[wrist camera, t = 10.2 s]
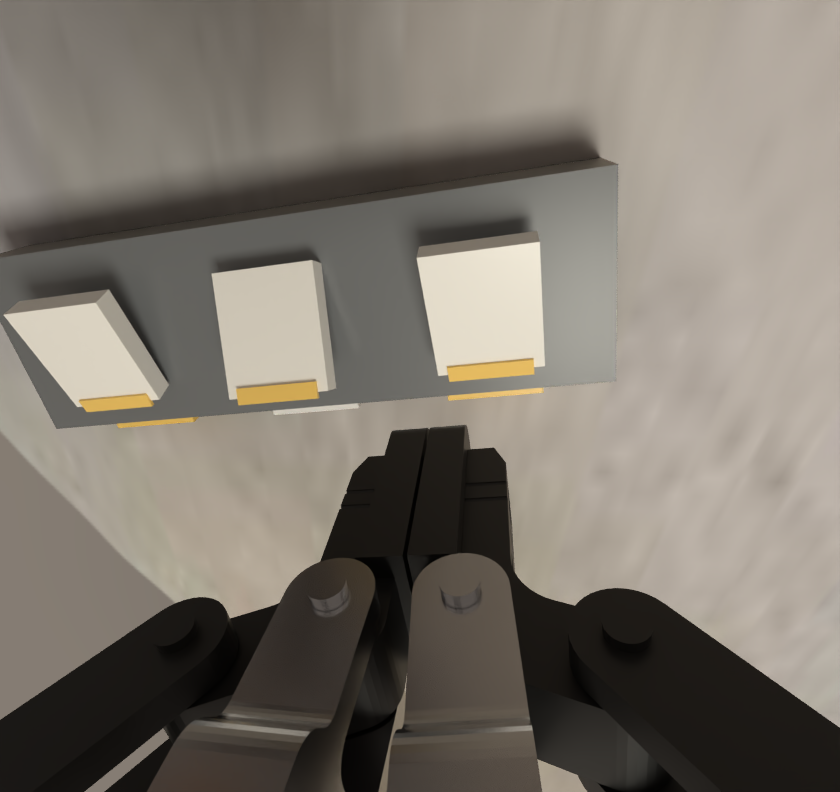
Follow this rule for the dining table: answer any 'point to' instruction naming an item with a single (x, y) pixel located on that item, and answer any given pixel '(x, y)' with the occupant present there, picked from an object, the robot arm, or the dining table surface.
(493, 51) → the dining table surface
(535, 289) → the switch
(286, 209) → the switch box
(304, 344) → the switch
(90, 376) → the switch
